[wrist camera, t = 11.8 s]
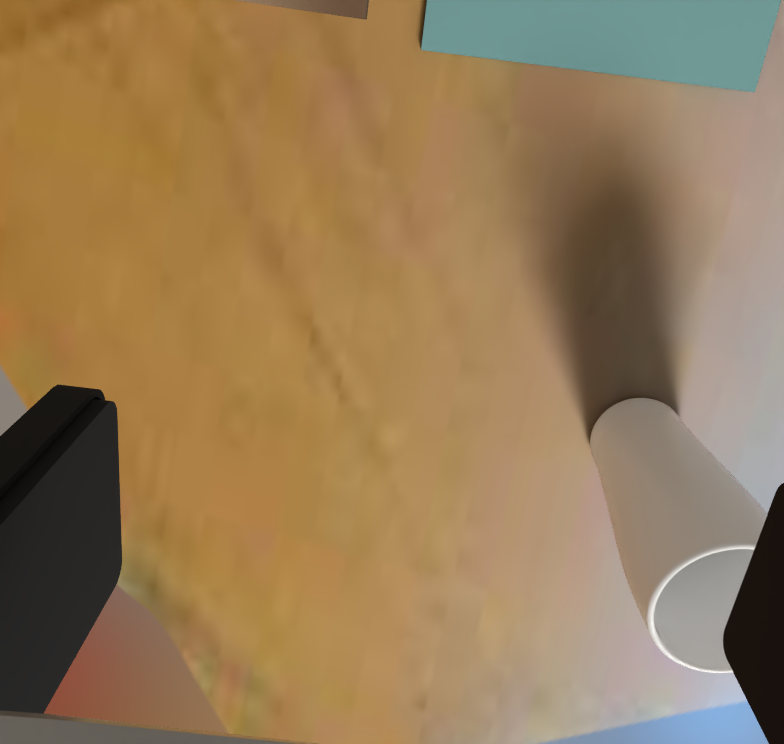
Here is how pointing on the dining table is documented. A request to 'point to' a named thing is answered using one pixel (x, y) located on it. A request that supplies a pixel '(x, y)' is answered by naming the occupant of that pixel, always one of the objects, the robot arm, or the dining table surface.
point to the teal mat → (613, 36)
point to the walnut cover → (322, 6)
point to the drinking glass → (675, 527)
